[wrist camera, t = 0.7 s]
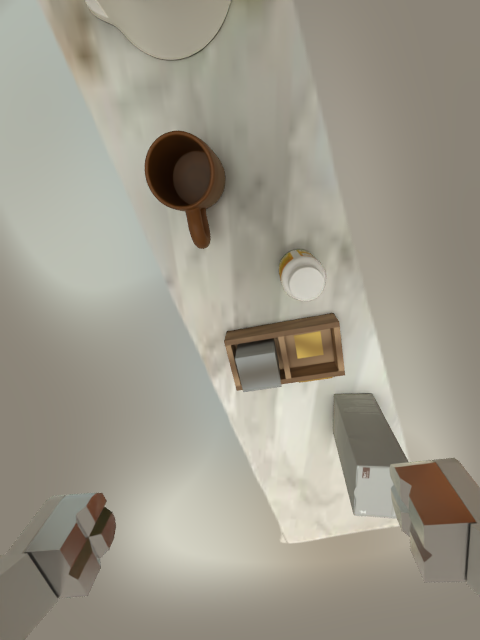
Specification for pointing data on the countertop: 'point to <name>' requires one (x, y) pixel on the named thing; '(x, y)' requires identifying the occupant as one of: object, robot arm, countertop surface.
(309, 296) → the supplement bottle
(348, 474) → the skincare box
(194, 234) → the mug
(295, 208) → the countertop surface
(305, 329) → the caddy
